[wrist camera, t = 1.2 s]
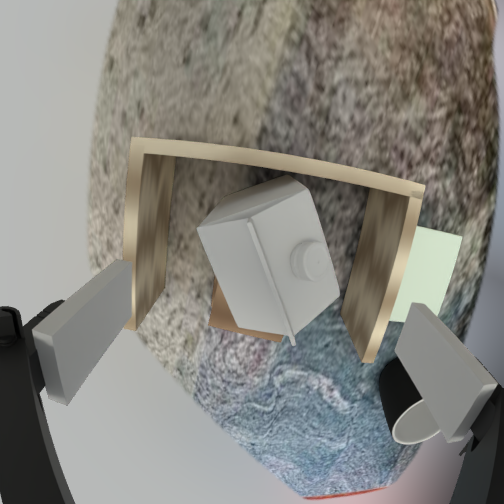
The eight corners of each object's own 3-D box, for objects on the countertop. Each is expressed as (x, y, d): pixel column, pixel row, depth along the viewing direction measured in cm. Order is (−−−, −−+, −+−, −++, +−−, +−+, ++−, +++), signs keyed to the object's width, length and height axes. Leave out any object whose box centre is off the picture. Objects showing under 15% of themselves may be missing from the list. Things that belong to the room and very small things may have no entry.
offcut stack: (219, 252, 35) (208, 278, 28) (302, 265, 35) (312, 293, 28) (214, 298, 37) (203, 332, 30) (292, 309, 37) (299, 345, 30)
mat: (377, 217, 34) (379, 218, 33) (460, 235, 34) (462, 236, 33) (352, 314, 37) (353, 317, 37) (432, 322, 37) (434, 324, 37)
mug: (419, 391, 41) (444, 436, 31) (366, 399, 41) (384, 450, 32) (439, 324, 37) (475, 366, 28) (380, 330, 38) (409, 379, 28)
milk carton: (247, 257, 35) (232, 363, 17) (223, 196, 34) (179, 246, 15) (309, 236, 35) (357, 325, 16) (288, 173, 33) (322, 196, 14)
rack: (167, 140, 32) (131, 136, 22) (382, 175, 32) (425, 185, 23) (155, 286, 37) (123, 328, 27) (349, 314, 37) (373, 363, 28)
